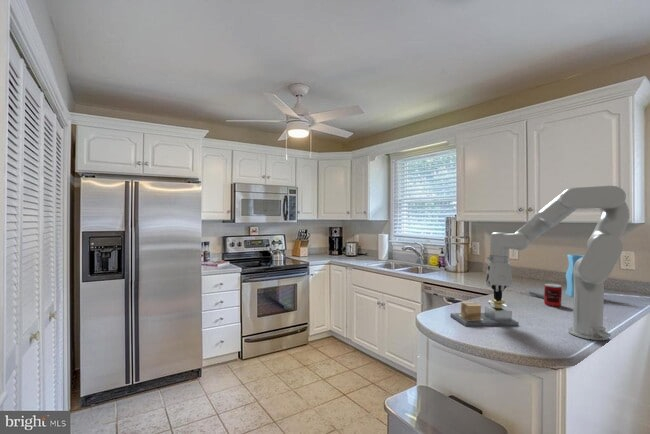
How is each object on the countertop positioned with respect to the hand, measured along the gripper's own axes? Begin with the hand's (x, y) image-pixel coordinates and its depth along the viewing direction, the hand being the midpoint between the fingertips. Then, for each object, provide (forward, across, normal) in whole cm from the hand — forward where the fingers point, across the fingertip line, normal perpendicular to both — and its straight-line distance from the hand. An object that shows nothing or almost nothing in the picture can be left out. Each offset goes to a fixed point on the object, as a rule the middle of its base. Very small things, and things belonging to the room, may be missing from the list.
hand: (497, 299), depth 150 cm
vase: (+10, +80, +45) cm, 92 cm away
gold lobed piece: (+5, 0, 0) cm, 5 cm away
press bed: (+10, -7, 0) cm, 12 cm away
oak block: (+8, -13, 0) cm, 15 cm away
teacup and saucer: (+10, +19, +30) cm, 37 cm away
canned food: (+10, +48, +26) cm, 56 cm away
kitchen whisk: (+10, +52, +49) cm, 72 cm away
